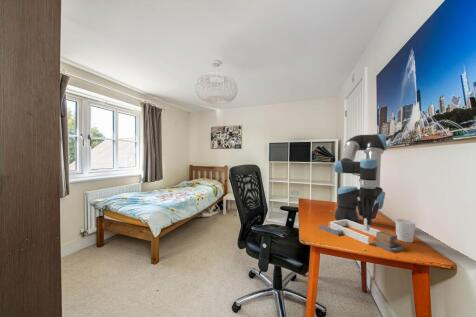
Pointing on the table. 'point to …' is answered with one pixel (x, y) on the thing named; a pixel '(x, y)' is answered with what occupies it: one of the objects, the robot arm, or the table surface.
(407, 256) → the table surface
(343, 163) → the robot arm
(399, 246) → the grey bracket
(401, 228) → the white cup
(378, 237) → the walnut cube
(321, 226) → the crook tool
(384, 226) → the table surface
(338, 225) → the cubby
